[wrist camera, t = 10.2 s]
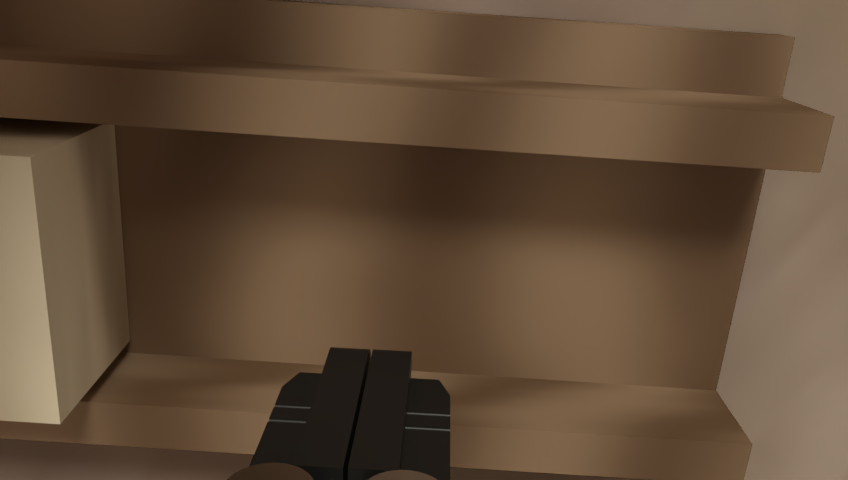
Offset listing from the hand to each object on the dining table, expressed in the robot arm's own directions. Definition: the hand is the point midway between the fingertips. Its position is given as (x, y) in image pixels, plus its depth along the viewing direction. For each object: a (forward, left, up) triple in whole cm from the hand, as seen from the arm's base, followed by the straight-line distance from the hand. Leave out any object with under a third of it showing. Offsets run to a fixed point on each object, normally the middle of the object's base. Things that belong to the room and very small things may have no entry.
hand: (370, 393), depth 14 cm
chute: (+5, 0, -7) cm, 8 cm away
